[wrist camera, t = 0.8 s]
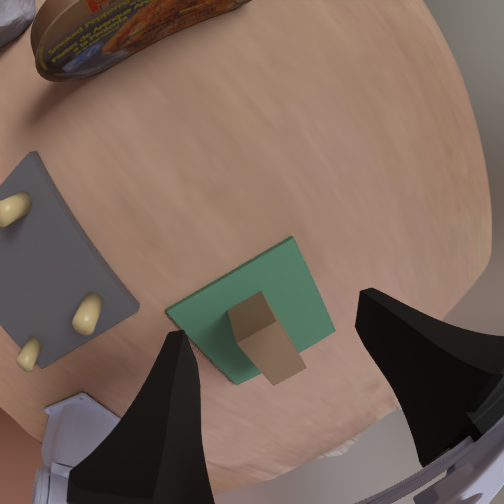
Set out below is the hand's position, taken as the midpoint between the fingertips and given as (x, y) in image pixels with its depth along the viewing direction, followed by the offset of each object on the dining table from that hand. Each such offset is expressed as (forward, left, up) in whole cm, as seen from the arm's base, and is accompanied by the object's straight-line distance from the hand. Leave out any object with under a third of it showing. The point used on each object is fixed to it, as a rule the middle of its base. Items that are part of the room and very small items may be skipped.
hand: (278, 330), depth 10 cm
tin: (+3, +17, -10) cm, 20 cm away
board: (-2, -7, -10) cm, 13 cm away
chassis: (-16, +7, -10) cm, 20 cm away
